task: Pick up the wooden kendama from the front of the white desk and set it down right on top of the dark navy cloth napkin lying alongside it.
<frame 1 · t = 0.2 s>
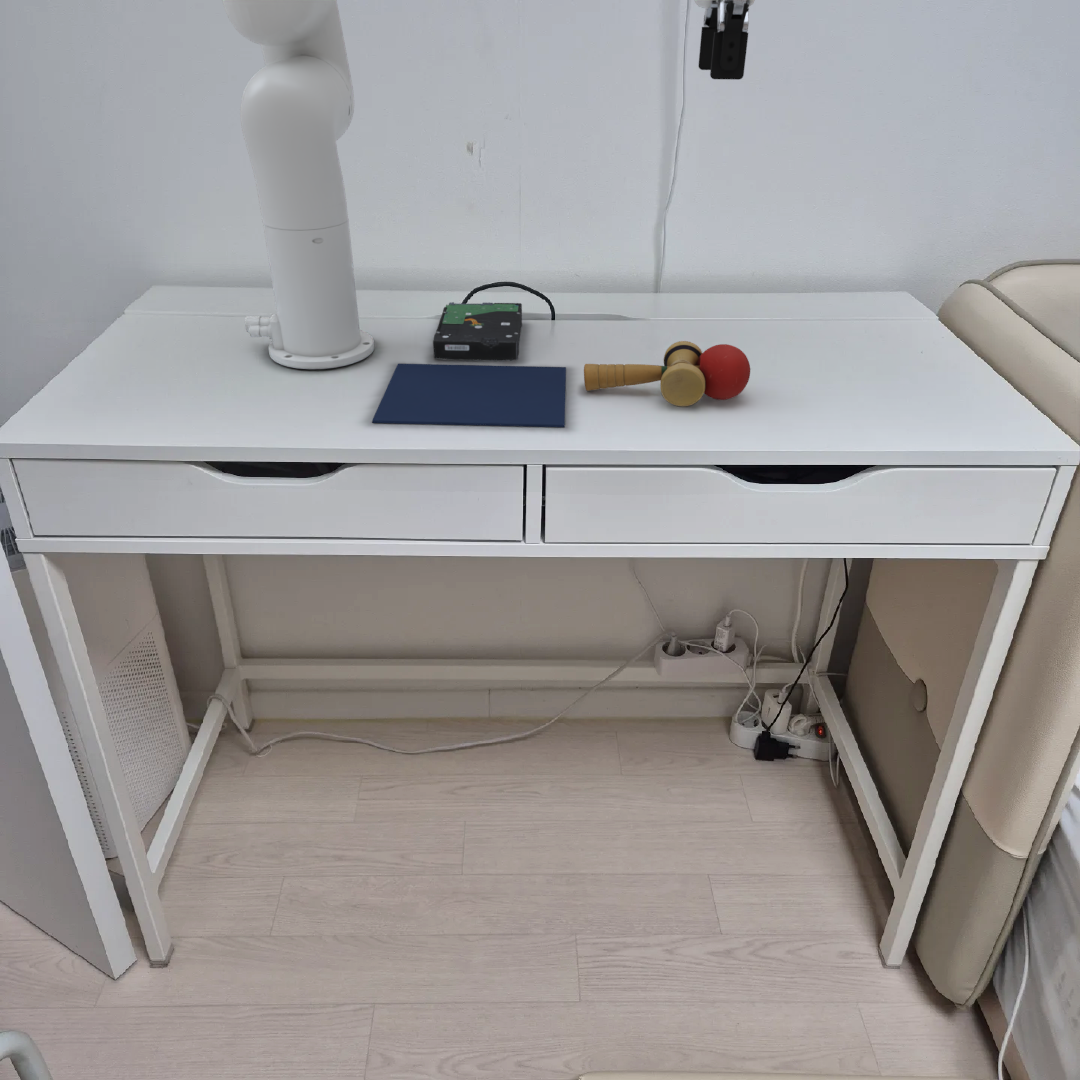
hand: (719, 74, 92), 31 cm above the table, tool pointing down, fingers open, 9 cm apart
disk drive: (480, 342, 114), on the table
napkin: (475, 394, 100), on the table
kendama: (663, 396, 100), on the table
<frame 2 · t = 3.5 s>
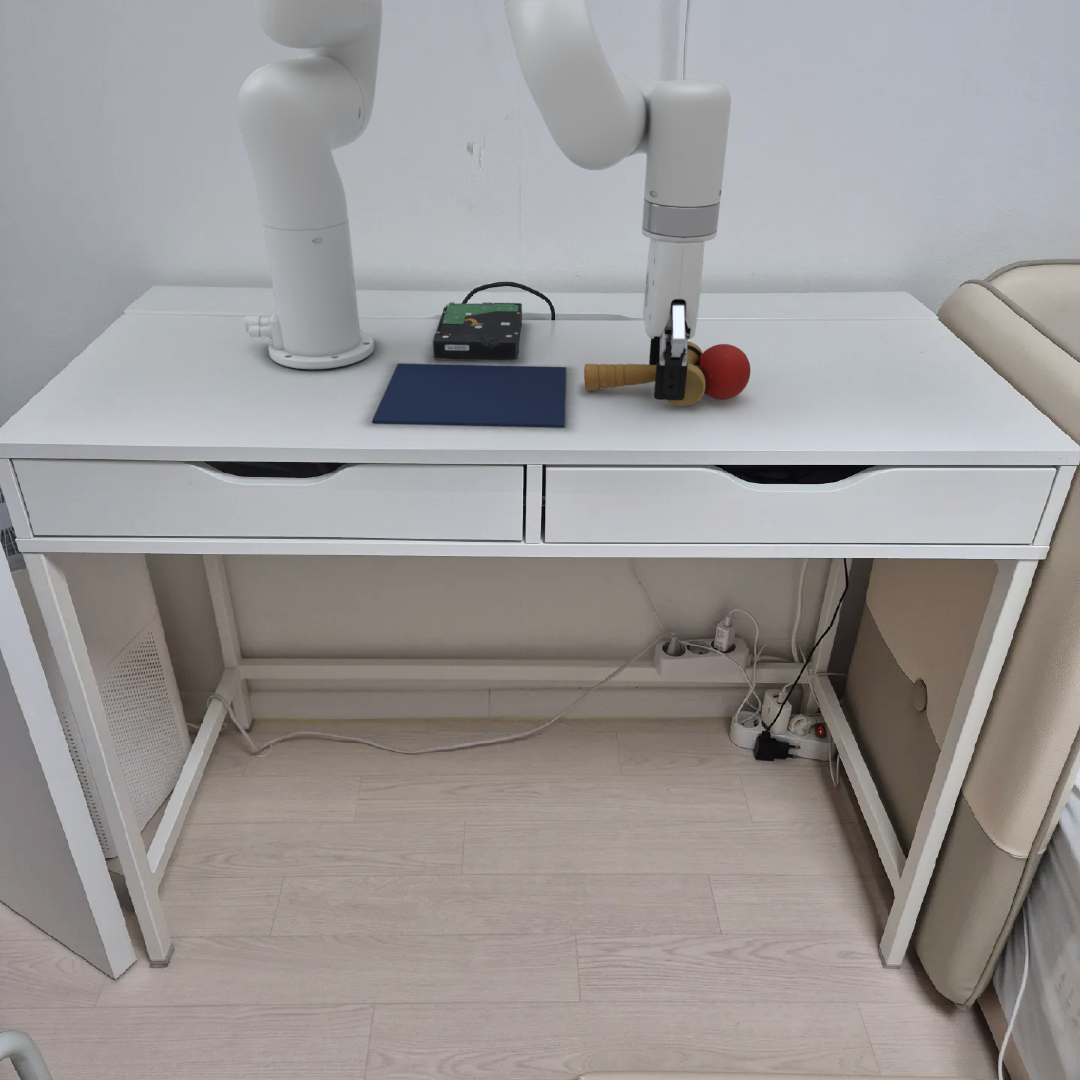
hand: (665, 383, 99), 1 cm above the table, tool pointing down, fingers closed on kendama, 7 cm apart
kendama: (664, 396, 100), on the table, touching gripper
everything else where it was.
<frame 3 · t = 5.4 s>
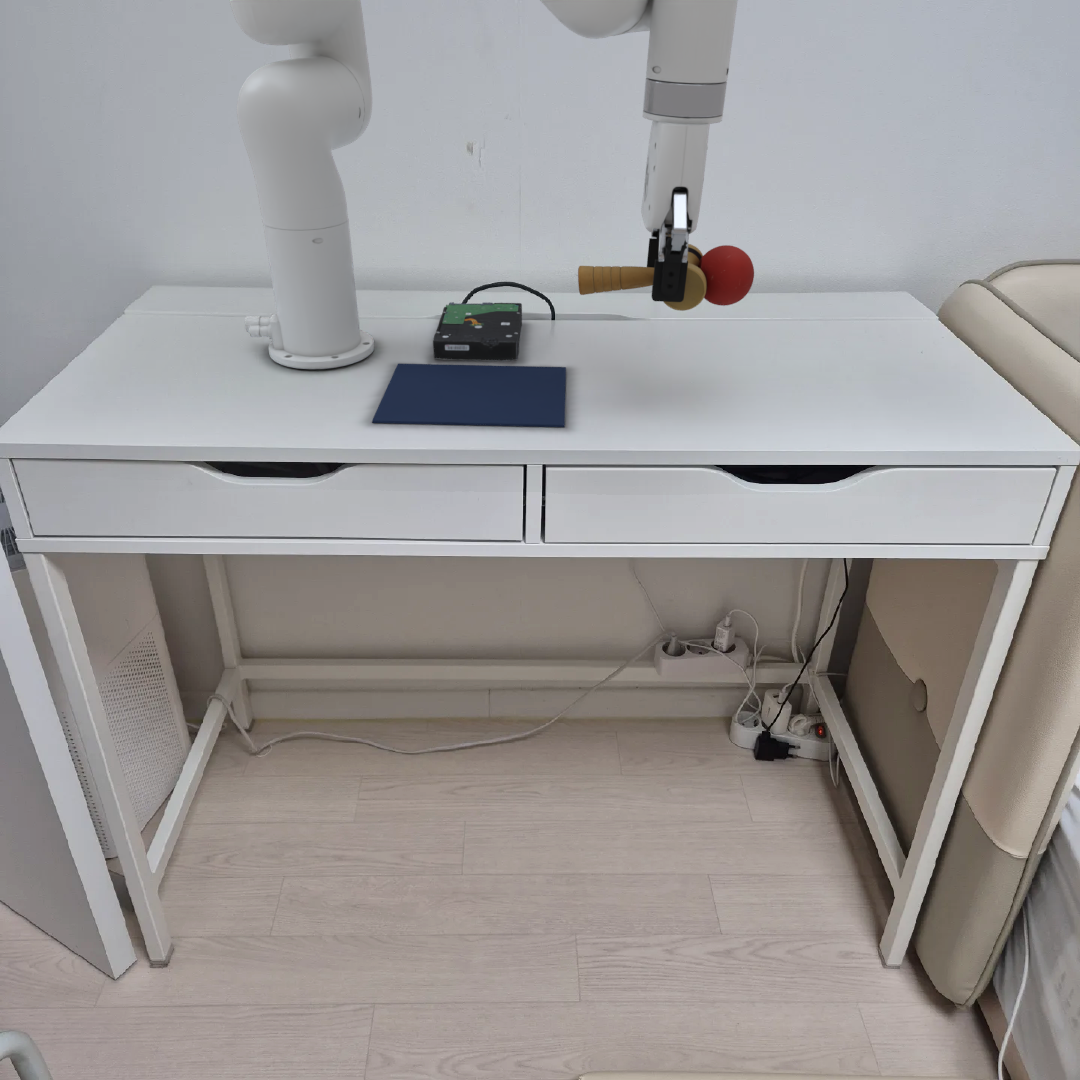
hand: (663, 287, 94), 12 cm above the table, tool pointing down, fingers closed on kendama, 7 cm apart
kendama: (662, 302, 95), point 10 cm above the table, touching gripper
everything else where it was.
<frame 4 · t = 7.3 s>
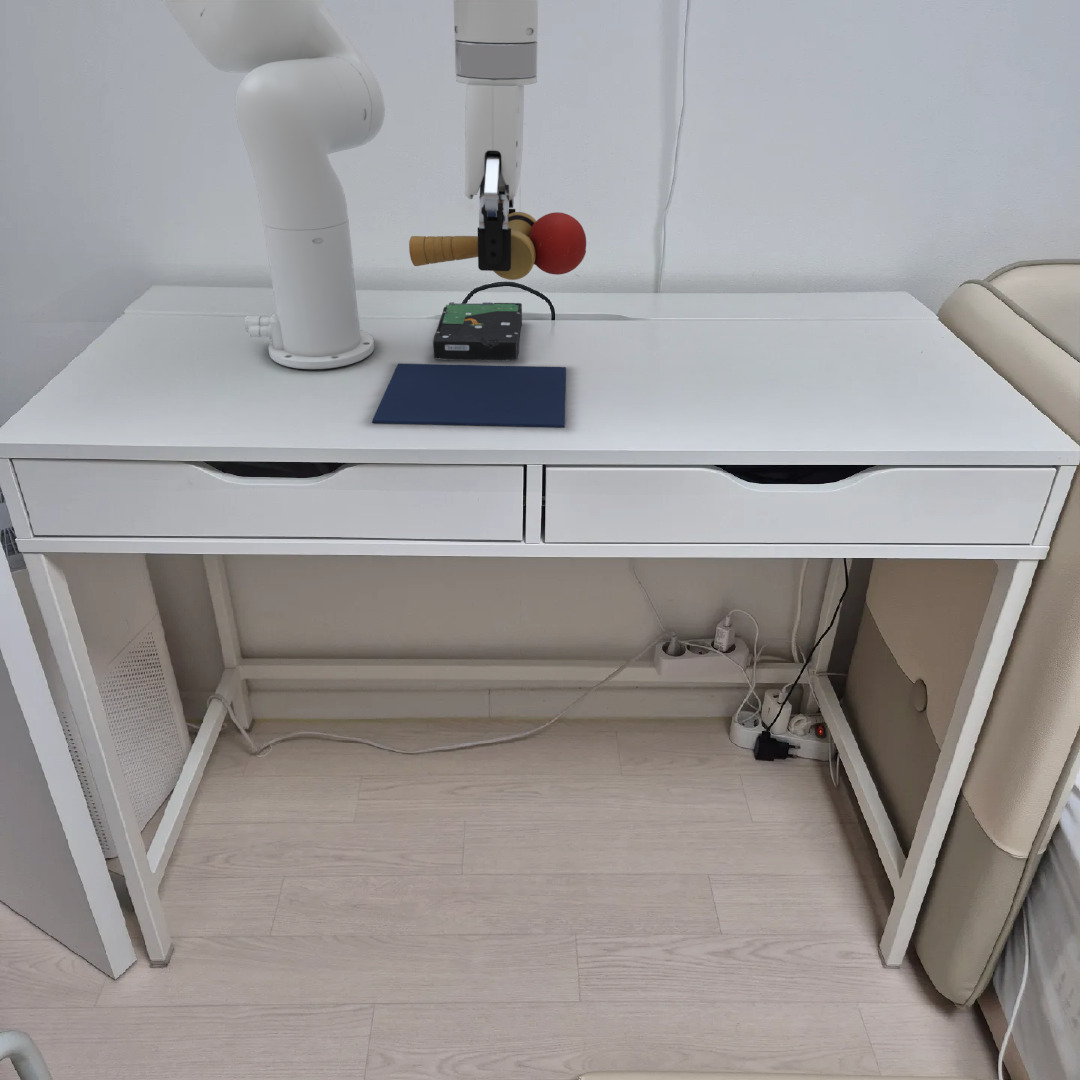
hand: (497, 257, 92), 15 cm above the table, tool pointing down, fingers closed on kendama, 7 cm apart
kendama: (497, 272, 93), point 13 cm above the table, touching gripper
everything else where it was.
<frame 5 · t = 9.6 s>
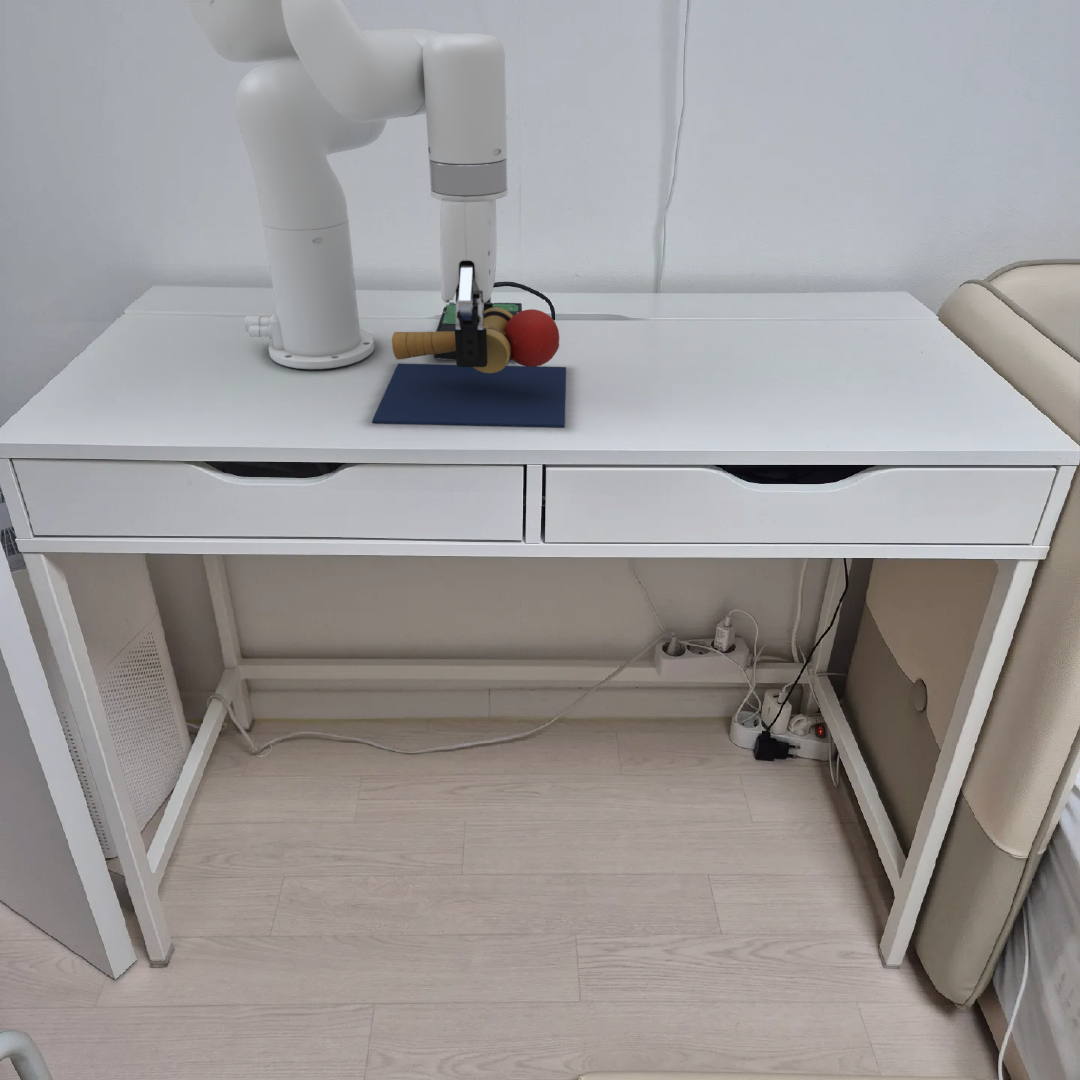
hand: (475, 351, 97), 5 cm above the table, tool pointing down, fingers closed on kendama, 7 cm apart
kendama: (476, 364, 98), point 3 cm above the table, touching gripper
everything else where it was.
when the fingers open (2 cm above the table, at t = 11.1 s): kendama stays where it is, resting on napkin.
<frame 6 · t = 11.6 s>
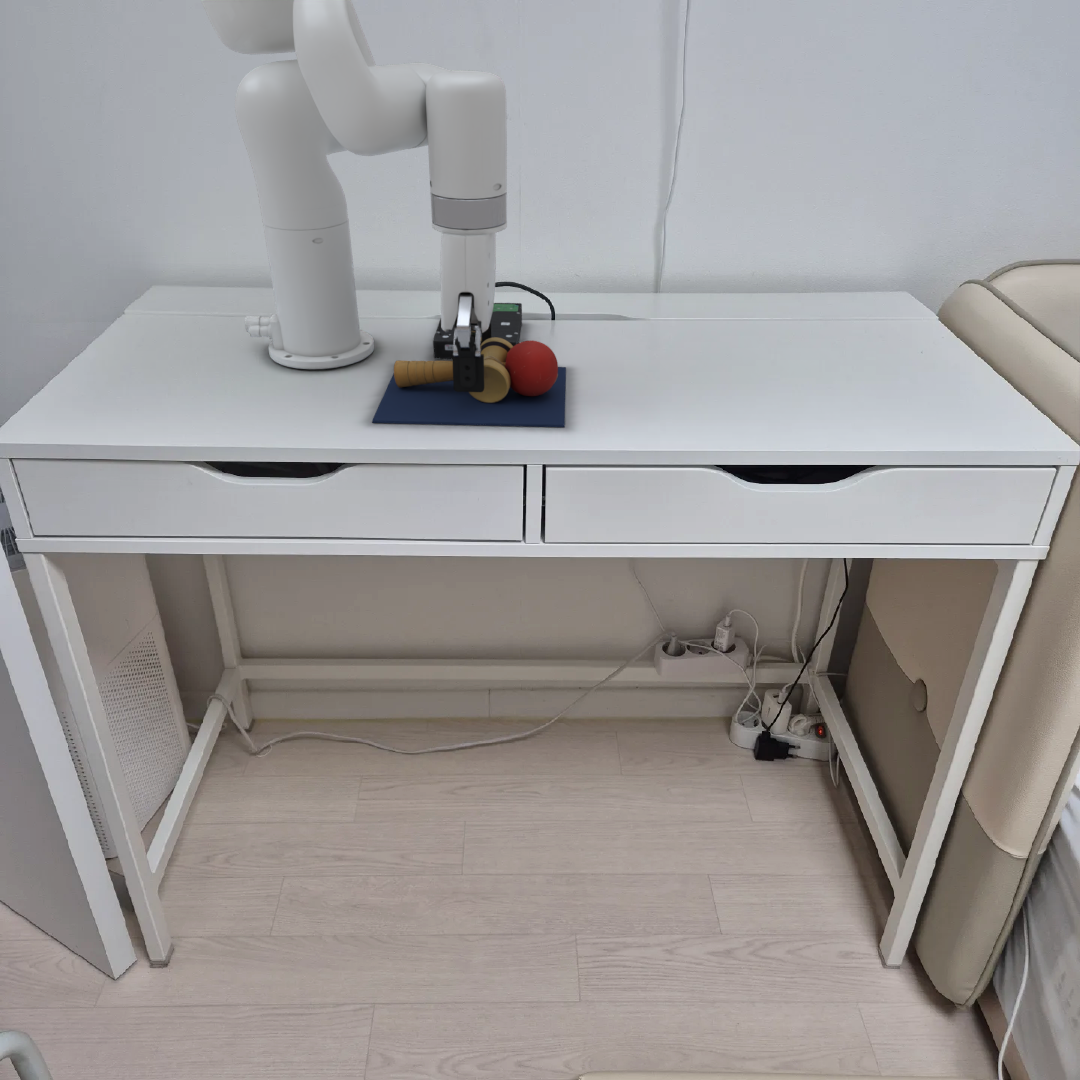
hand: (473, 373, 98), 2 cm above the table, tool pointing down, fingers open, 9 cm apart
kendama: (476, 393, 100), resting on napkin
everything else where it was.
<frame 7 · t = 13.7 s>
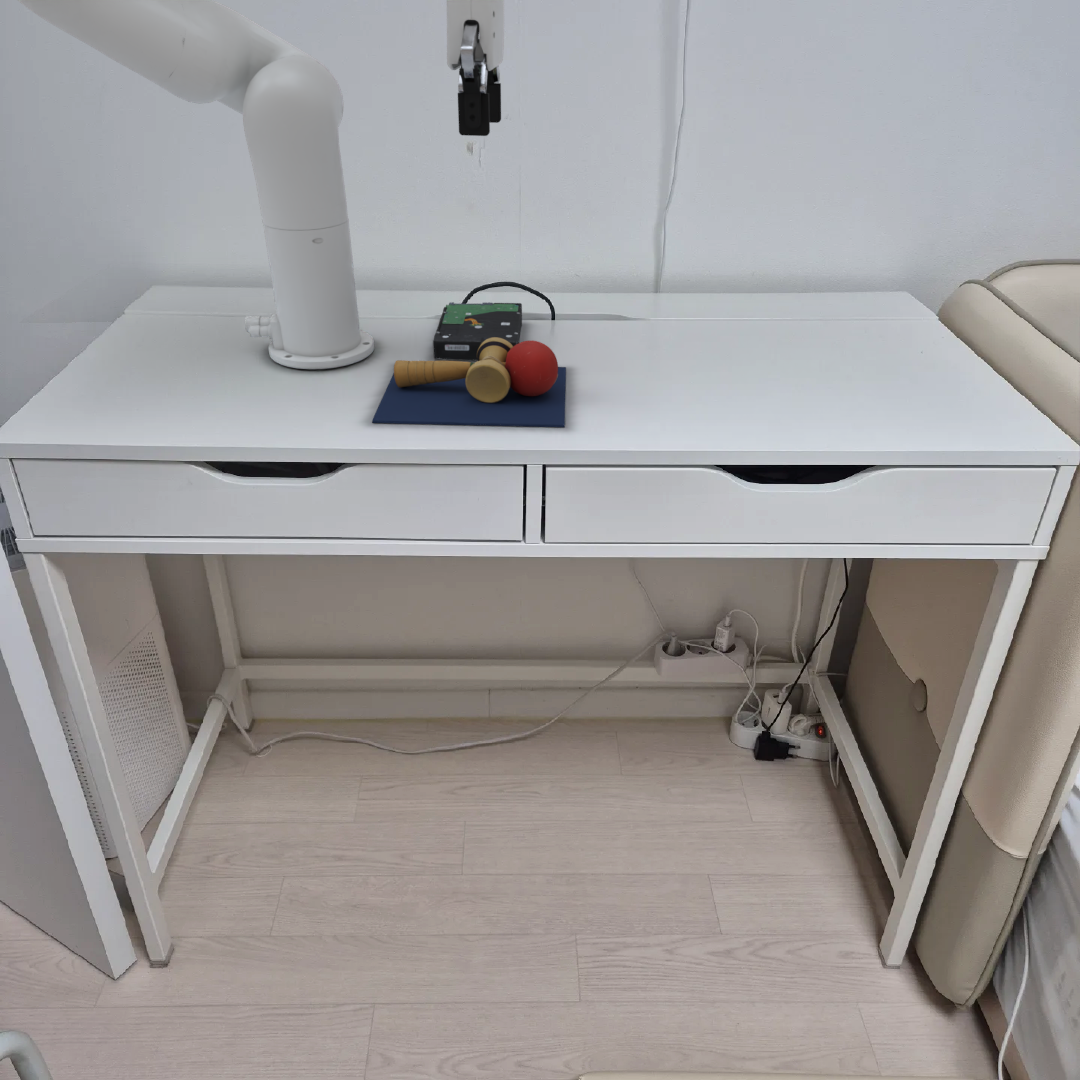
hand: (481, 128, 99), 25 cm above the table, tool pointing down, fingers open, 9 cm apart
nothing on the table moved.
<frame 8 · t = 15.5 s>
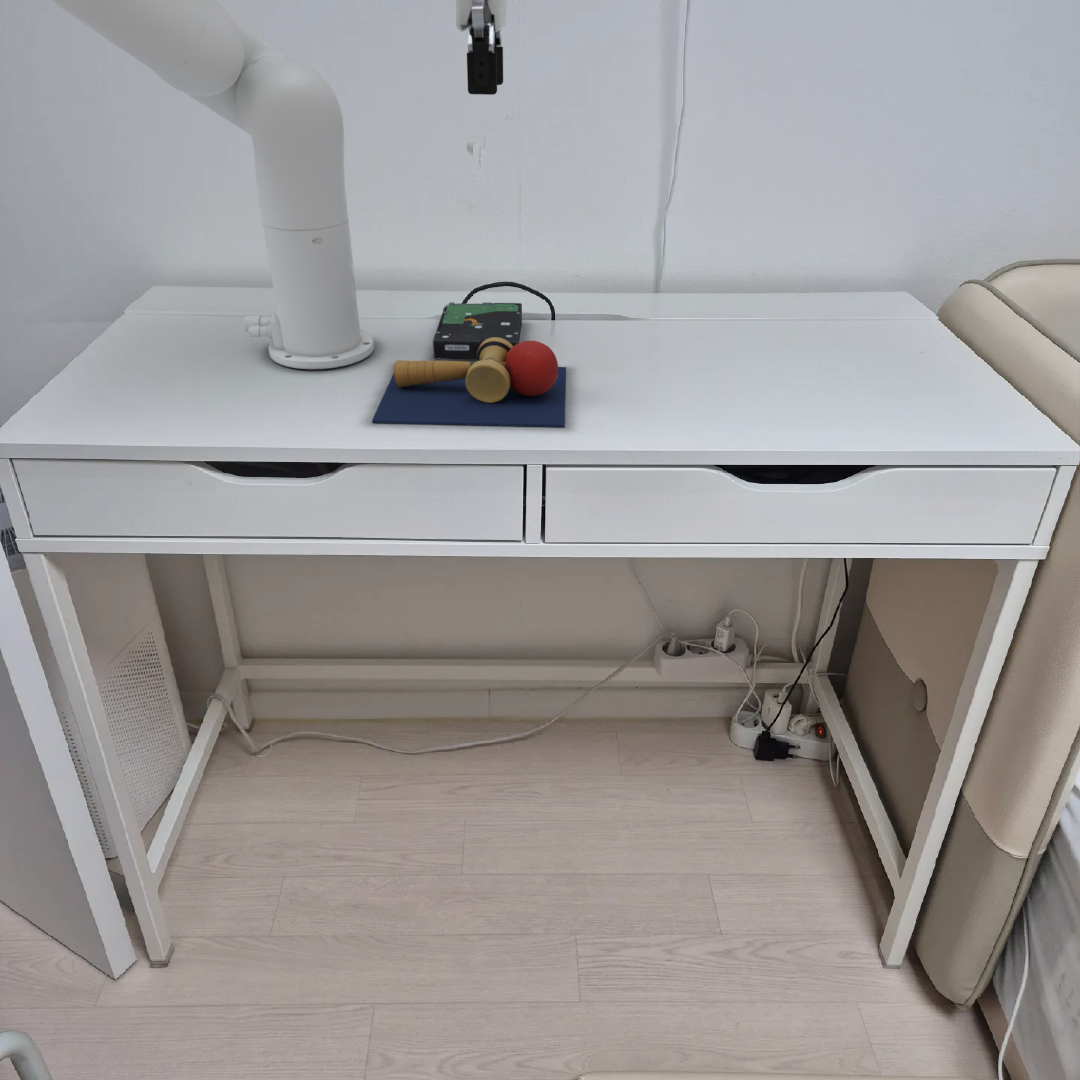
hand: (486, 89, 103), 28 cm above the table, tool pointing down, fingers open, 9 cm apart
nothing on the table moved.
at the end: kendama inside the target area on the napkin (0.1 cm from its centre), point 0.1 cm above the napkin's base; kendama touching napkin; the gripper is holding nothing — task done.
